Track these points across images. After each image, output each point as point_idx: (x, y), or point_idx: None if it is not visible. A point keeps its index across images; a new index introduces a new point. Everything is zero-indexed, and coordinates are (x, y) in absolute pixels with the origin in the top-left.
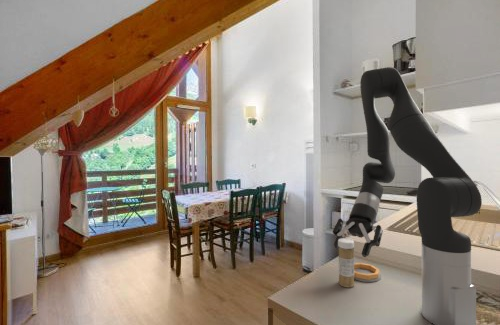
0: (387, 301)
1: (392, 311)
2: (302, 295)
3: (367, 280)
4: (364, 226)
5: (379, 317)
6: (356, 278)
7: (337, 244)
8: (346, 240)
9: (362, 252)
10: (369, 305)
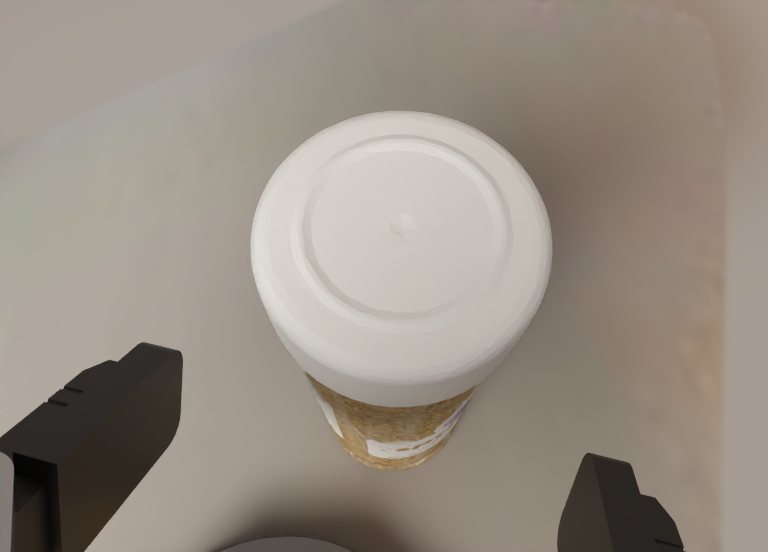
0: (90, 294)
1: (74, 193)
2: (602, 111)
3: (227, 549)
4: None
5: (150, 107)
6: (327, 542)
7: (597, 475)
8: (388, 217)
9: (162, 347)
10: (204, 193)
